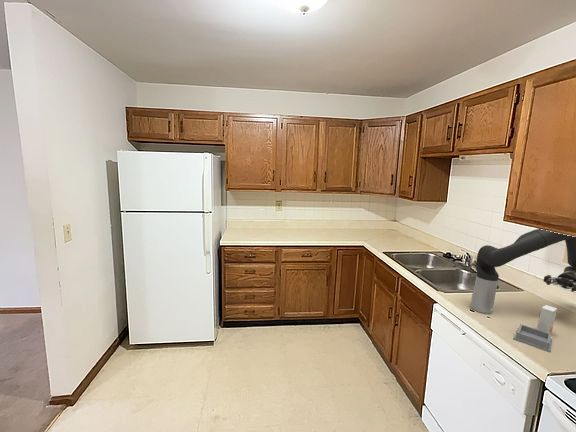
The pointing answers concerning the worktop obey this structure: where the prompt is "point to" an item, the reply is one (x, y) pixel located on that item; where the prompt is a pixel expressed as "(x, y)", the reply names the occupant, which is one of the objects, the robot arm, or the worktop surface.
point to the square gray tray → (534, 337)
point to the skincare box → (547, 319)
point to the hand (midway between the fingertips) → (560, 286)
